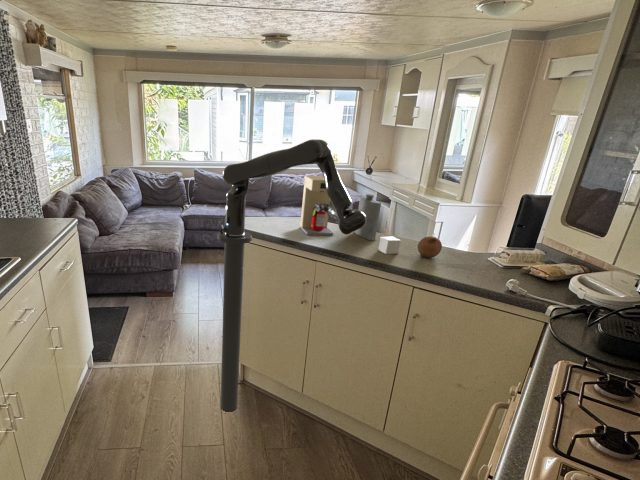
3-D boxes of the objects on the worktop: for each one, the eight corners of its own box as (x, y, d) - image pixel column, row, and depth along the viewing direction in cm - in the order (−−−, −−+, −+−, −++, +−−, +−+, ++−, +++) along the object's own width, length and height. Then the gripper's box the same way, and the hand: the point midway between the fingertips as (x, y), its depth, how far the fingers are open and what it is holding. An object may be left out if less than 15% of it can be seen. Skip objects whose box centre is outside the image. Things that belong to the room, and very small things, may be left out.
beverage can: (323, 228, 215) (326, 204, 210) (324, 231, 209) (327, 207, 204) (310, 227, 216) (313, 203, 211) (311, 231, 210) (313, 206, 205)
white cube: (378, 250, 189) (380, 236, 187) (390, 249, 190) (392, 236, 188) (385, 254, 184) (388, 240, 181) (397, 253, 185) (400, 240, 183)
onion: (429, 266, 180) (437, 248, 173) (410, 255, 185) (416, 237, 177) (442, 254, 184) (449, 237, 177) (422, 244, 189) (429, 227, 181)
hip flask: (376, 240, 203) (383, 197, 195) (368, 240, 202) (375, 198, 194) (359, 231, 217) (365, 191, 209) (352, 231, 216) (358, 191, 208)
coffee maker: (333, 235, 208) (340, 180, 198) (307, 235, 207) (313, 180, 196) (324, 227, 221) (330, 176, 211) (299, 227, 220) (305, 175, 209)
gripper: (355, 204, 181) (343, 196, 196) (323, 203, 180) (312, 196, 194) (353, 221, 184) (340, 213, 199) (321, 221, 183) (311, 212, 197)
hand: (327, 204), depth 197 cm, fingers open, 8 cm apart
